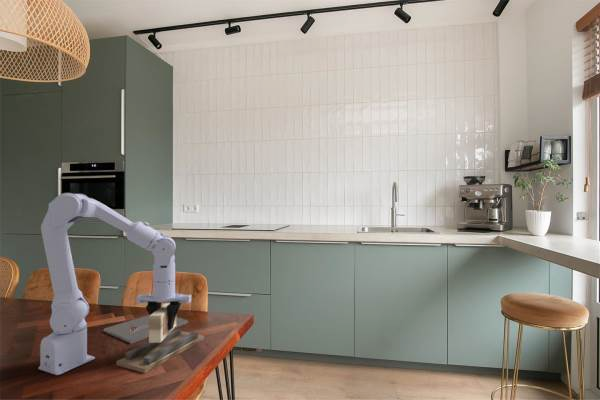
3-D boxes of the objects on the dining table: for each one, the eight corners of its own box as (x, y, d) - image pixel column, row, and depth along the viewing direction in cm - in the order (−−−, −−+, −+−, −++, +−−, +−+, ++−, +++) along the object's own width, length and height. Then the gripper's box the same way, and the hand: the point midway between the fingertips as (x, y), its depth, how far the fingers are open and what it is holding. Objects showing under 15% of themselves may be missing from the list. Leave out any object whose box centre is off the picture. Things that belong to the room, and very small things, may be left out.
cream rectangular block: (161, 342, 88) (161, 315, 88) (149, 342, 88) (149, 316, 88) (176, 325, 100) (177, 302, 100) (166, 325, 100) (166, 302, 100)
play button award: (187, 320, 115) (130, 340, 99) (187, 324, 115) (130, 345, 99) (160, 311, 124) (103, 328, 108) (160, 315, 124) (103, 333, 108)
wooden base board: (144, 373, 82) (144, 362, 82) (116, 365, 86) (116, 355, 86) (204, 339, 102) (204, 330, 102) (179, 333, 106) (179, 326, 106)
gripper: (194, 276, 98) (194, 323, 98) (144, 276, 98) (144, 323, 98) (186, 282, 91) (186, 332, 91) (133, 282, 91) (132, 332, 91)
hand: (164, 328), depth 94 cm, fingers closed on cream rectangular block, 3 cm apart
